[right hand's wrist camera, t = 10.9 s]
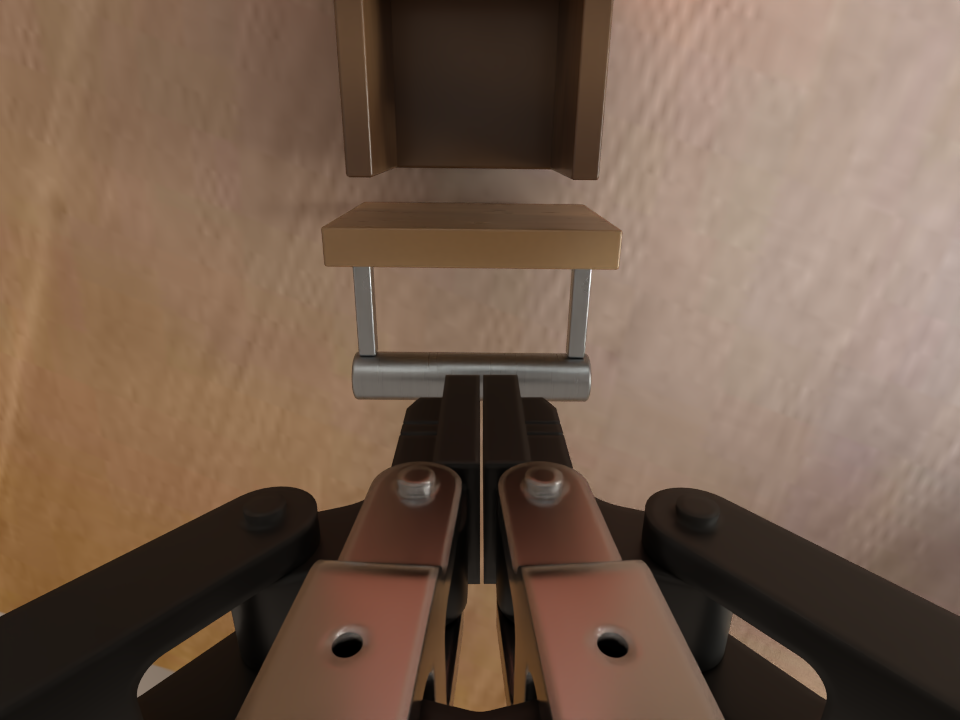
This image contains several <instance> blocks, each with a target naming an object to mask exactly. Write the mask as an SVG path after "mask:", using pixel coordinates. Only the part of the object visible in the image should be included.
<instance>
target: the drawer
mask: <svg viewBox="0 0 960 720" xmlns="http://www.w3.org/2000/svg"><path fill="white" fill-rule="evenodd" d="M334 11H335V25H336V39H337V53H338V67H339V81H340V95H341V109H342V123H343V137H344V151H345V165H346V174H347V176H348V177H372V176H375V175H378V174H380V173H383V172H385V171H388V170H390V169H393V168H395V167H399V168H486V169H552V170H554V171H557V172H559V173H561V174H563V175H565V176H567V177H569V178H571V179H573V180H597V179H598V178H599V168H600V156H601V144H602V132H603V120H604V108H605V96H606V84H607V72H608V60H609V48H610V36H611V24H612V12H613V0H334ZM321 232H322V243H323V254H324V264H325V266H327V267H353V278H354V292H355V306H356V320H357V334H358V348H359V352H357V353H356V354H355V356H354V360H353V365H352V388H353V393H354V396H355V398H356V399H374V400H418V399H419V398H420V397H442V396H443V389H444V382H445V376H446V375H480V401H483V375H518V381H519V388H520V394H521V397H543V398H544V399H546V400H547V401H577V402H585V401H587V400H588V398H589V395H590V389H591V365H590V360H589V357H588V355H586V354H585V345H586V333H587V321H588V309H589V297H590V285H591V273H592V269H603V270H616V269H618V268H619V262H620V252H621V242H622V231H621V230H620V229H619V228H617V227H616V226H614V225H613V224H611V223H610V222H608V221H607V220H605V219H604V218H602V217H601V216H599V215H598V214H596V213H595V212H594V211H592V210H591V209H589V208H588V207H586V206H585V205H578V204H490V203H401V202H364V203H363V204H361V205H359V206H357V207H356V208H354V209H352V210H351V211H349V212H347V213H346V214H344V215H342V216H340V217H339V218H337V219H335V220H334V221H332V222H330V223H329V224H327V225H325V226H323V227H322V229H321ZM373 267H418V268H510V269H572V272H571V286H570V300H569V315H568V329H567V343H566V353H567V354H552V353H454V352H377V351H378V340H377V323H376V305H375V288H374V271H373Z"/></svg>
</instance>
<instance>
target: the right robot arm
mask: <svg viewBox="0 0 960 720" xmlns="http://www.w3.org/2000/svg"><path fill="white" fill-rule="evenodd" d="M483 539H484V584H496V591H497V618H496V623H497V633H498V641H499V649H500V657H501V665H502V673H503V680H504V688H505V696H506V704H507V707H503V708H499V709H495V710H491V711H485V712H475V711H469V710H465V709H461V708H457V707H453V704H454V696H455V688H456V680H457V673H458V665H459V657H460V649H461V641H462V633H463V623H464V618H463V610H464V609H465V606H466V603H467V594H468V584H480V375H446V376H445V382H444V389H443V396H442V397H420V398H419V399H418V400H416V401H415V402H414V403H413V404H412V405H411V406H409V407H408V408H407V410H406V414H405V418H404V422H403V425H402V429H401V435H400V436H399V440H398V444H397V448H396V451H395V455H394V459H393V463H392V466H391V468H388V469H386V470H385V471H383V472H382V473H380V474H379V475H378V476H377V477H376V478H375V479H374V481H373V482H372V484H371V486H370V489H369V491H368V493H367V495H366V498H365V500H363V501H361V502H358V503H355V504H352V505H348V506H344V507H340V508H335V509H330V510H325V511H320V512H318V511H317V503H316V501H315V499H314V498H313V496H312V495H311V494H309V493H308V492H306V491H304V490H301V489H298V488H293V487H270V488H264V489H260V490H256V491H253V492H250V493H247V494H245V495H242V496H240V497H238V498H236V499H234V500H232V501H230V502H228V503H226V504H224V505H222V506H220V507H218V508H216V509H214V510H212V511H210V512H208V513H206V514H204V515H202V516H200V517H198V518H196V519H194V520H192V521H190V522H188V523H186V524H184V525H182V526H180V527H178V528H176V529H174V530H172V531H170V532H168V533H166V534H164V535H162V536H160V537H158V538H156V539H154V540H152V541H150V542H148V543H146V544H144V545H142V546H140V547H138V548H136V549H134V550H132V551H130V552H128V553H126V554H124V555H122V556H120V557H118V558H116V559H114V560H112V561H110V562H108V563H106V564H104V565H102V566H100V567H98V568H96V569H94V570H92V571H90V572H88V573H86V574H84V575H82V576H80V577H78V578H76V579H74V580H72V581H70V582H68V583H66V584H64V585H62V586H60V587H58V588H56V589H54V590H52V591H50V592H48V593H46V594H44V595H42V596H40V597H38V598H36V599H34V600H32V601H30V602H28V603H26V604H24V605H22V606H20V607H18V608H16V609H14V610H12V611H10V612H8V613H6V614H4V615H2V616H1V617H0V720H960V616H958V615H956V614H954V613H952V612H950V611H948V610H946V609H944V608H942V607H940V606H938V605H936V604H934V603H932V602H930V601H928V600H926V599H924V598H922V597H920V596H918V595H916V594H914V593H912V592H910V591H908V590H906V589H904V588H902V587H900V586H898V585H896V584H894V583H892V582H890V581H888V580H886V579H884V578H882V577H880V576H878V575H876V574H874V573H872V572H870V571H868V570H866V569H864V568H862V567H860V566H858V565H856V564H854V563H852V562H850V561H848V560H846V559H844V558H842V557H840V556H838V555H836V554H834V553H832V552H830V551H828V550H826V549H824V548H822V547H820V546H818V545H816V544H814V543H812V542H810V541H808V540H806V539H804V538H802V537H800V536H798V535H796V534H794V533H792V532H790V531H788V530H786V529H784V528H782V527H780V526H778V525H776V524H774V523H772V522H770V521H768V520H766V519H764V518H762V517H760V516H758V515H756V514H754V513H752V512H750V511H748V510H746V509H744V508H742V507H740V506H738V505H736V504H734V503H732V502H730V501H728V500H726V499H724V498H722V497H720V496H717V495H715V494H712V493H709V492H706V491H702V490H698V489H692V488H670V489H665V490H661V491H659V492H657V493H655V494H653V495H652V496H651V497H650V498H649V499H648V500H647V503H646V506H645V511H640V510H635V509H631V508H626V507H621V506H617V505H613V504H610V503H607V502H604V501H602V500H600V499H597V498H596V497H594V495H593V493H592V491H591V489H590V486H589V484H588V482H587V481H586V479H585V478H584V477H583V476H582V475H581V474H580V473H578V472H577V471H575V470H574V469H573V467H572V463H571V460H570V456H569V453H568V449H567V445H566V442H565V438H564V435H563V431H562V428H561V424H560V420H559V417H558V413H557V410H556V408H555V407H554V406H553V405H551V404H550V403H549V402H548V401H547V400H546V399H544V398H543V397H521V394H520V388H519V381H518V375H483ZM229 611H232V616H233V621H234V626H235V632H233V633H232V634H230V635H229V636H227V637H226V638H224V639H223V640H222V641H220V642H219V643H217V644H216V645H214V646H213V647H211V648H210V649H208V650H207V651H205V652H204V653H203V654H201V655H200V656H198V657H197V658H195V659H194V660H192V661H191V662H189V663H188V664H186V665H185V666H184V667H182V668H181V669H179V670H178V671H176V672H175V673H173V674H172V675H170V676H169V677H167V678H166V679H164V680H163V681H162V682H160V683H159V684H157V685H156V686H154V687H153V688H151V689H150V690H148V691H147V692H146V693H144V694H143V695H141V696H139V697H138V698H137V689H138V685H139V683H140V680H141V678H142V677H143V675H144V673H145V672H146V671H147V669H148V668H149V667H150V666H151V665H152V664H153V663H154V662H155V661H156V660H157V659H158V658H159V657H161V656H162V655H163V654H165V653H166V652H168V651H169V650H171V649H172V648H174V647H176V646H177V645H179V644H180V643H182V642H183V641H185V640H186V639H188V638H189V637H191V636H192V635H194V634H195V633H197V632H199V631H200V630H202V629H203V628H205V627H206V626H208V625H209V624H211V623H212V622H214V621H215V620H217V619H219V618H220V617H222V616H223V615H225V614H226V613H228V612H229ZM733 613H734V614H735V615H737V616H738V617H740V618H741V619H743V620H745V621H746V622H748V623H749V624H751V625H752V626H754V627H755V628H757V629H758V630H760V631H761V632H763V633H765V634H766V635H768V636H769V637H771V638H772V639H774V640H775V641H777V642H778V643H780V644H781V645H783V646H785V647H786V648H788V649H789V650H791V651H792V652H794V653H795V654H797V655H798V656H800V657H801V658H803V659H804V660H805V661H806V662H807V663H809V664H810V665H811V666H812V667H813V669H814V670H815V671H816V672H817V674H818V675H819V676H820V678H821V680H822V681H823V684H824V686H825V689H826V693H827V700H825V699H824V698H822V697H820V696H819V695H817V694H816V693H815V692H813V691H812V690H810V689H809V688H807V687H806V686H804V685H803V684H801V683H800V682H798V681H797V680H796V679H794V678H793V677H791V676H790V675H788V674H787V673H785V672H784V671H782V670H781V669H779V668H778V667H776V666H775V665H774V664H772V663H771V662H769V661H768V660H766V659H765V658H763V657H762V656H760V655H759V654H757V653H756V652H755V651H753V650H752V649H750V648H749V647H747V646H746V645H744V644H743V643H741V642H740V641H738V640H737V639H736V638H734V637H733V636H731V635H730V634H728V633H729V629H730V624H731V619H732V614H733Z"/></svg>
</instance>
